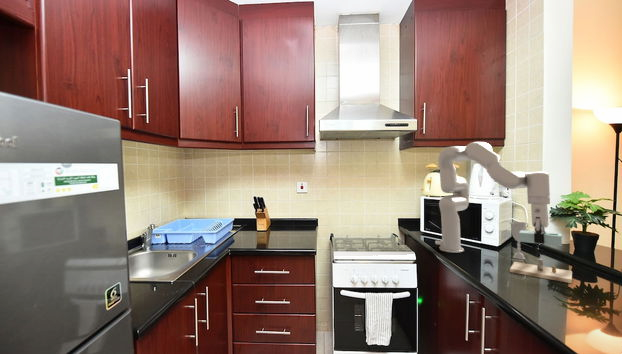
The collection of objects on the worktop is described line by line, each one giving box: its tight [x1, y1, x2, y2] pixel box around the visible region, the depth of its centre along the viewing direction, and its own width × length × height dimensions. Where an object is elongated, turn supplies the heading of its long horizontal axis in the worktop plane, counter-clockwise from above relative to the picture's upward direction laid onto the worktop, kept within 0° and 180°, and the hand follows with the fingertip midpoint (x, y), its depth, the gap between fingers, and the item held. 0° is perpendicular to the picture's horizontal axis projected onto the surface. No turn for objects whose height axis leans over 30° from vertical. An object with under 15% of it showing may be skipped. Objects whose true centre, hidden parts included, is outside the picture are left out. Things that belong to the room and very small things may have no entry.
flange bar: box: [519, 230, 563, 247], centre depth 120 cm, size 14×6×4 cm, turn 46°
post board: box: [509, 258, 573, 284], centre depth 120 cm, size 20×12×6 cm, turn 46°
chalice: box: [509, 221, 528, 260], centre depth 141 cm, size 7×7×18 cm
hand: (540, 241), depth 120 cm, fingers closed on flange bar, 6 cm apart
